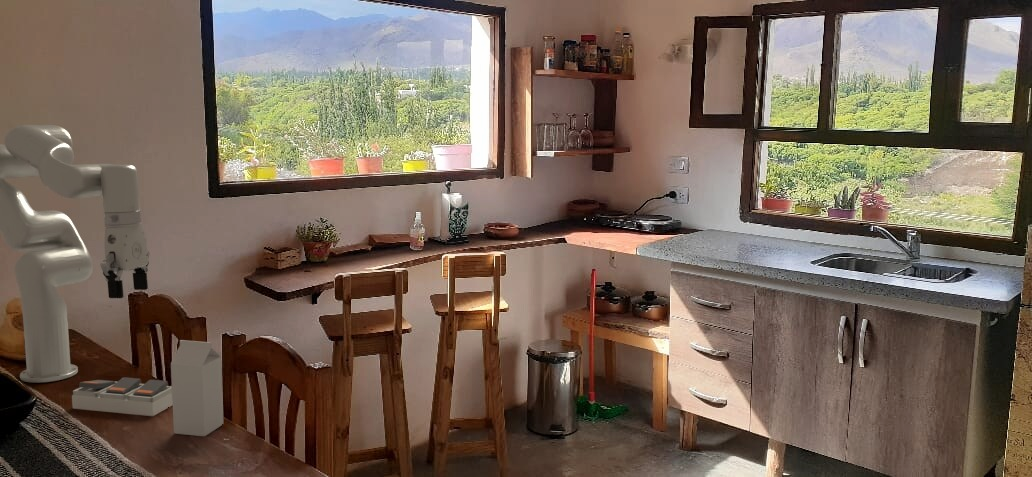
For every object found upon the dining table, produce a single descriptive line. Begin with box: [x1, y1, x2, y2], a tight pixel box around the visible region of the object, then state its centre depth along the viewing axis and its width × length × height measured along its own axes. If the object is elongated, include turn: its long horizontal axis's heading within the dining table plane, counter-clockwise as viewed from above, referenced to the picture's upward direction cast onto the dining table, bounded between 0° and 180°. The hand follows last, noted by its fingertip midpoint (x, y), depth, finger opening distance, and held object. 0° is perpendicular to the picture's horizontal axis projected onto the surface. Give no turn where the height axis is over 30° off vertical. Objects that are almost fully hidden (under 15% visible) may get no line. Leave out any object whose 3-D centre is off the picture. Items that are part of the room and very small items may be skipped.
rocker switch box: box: [71, 380, 173, 417], centre depth 185 cm, size 20×8×4 cm, turn 79°
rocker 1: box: [78, 379, 116, 389], centre depth 186 cm, size 4×6×1 cm
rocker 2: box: [106, 376, 142, 394], centre depth 184 cm, size 4×6×1 cm
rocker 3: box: [133, 379, 169, 397], centre depth 183 cm, size 4×6×1 cm
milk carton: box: [170, 339, 224, 437], centre depth 170 cm, size 7×7×19 cm
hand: (128, 293), depth 188 cm, fingers open, 9 cm apart
